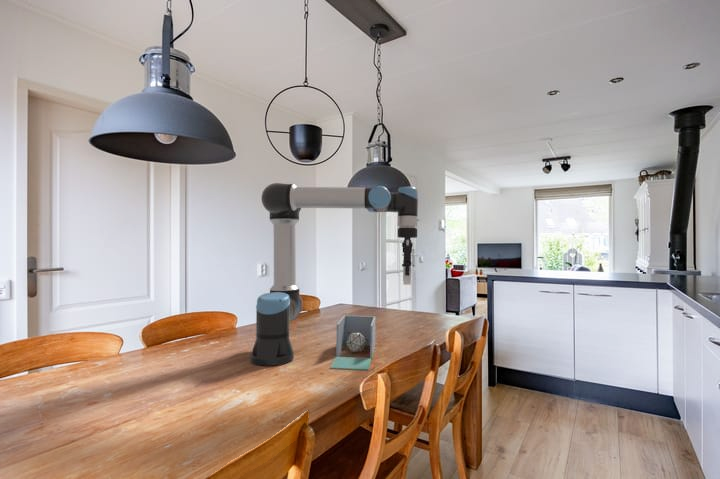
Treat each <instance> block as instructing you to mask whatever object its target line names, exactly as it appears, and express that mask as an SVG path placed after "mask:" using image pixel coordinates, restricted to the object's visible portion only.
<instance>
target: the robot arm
mask: <svg viewBox="0 0 720 479" xmlns="http://www.w3.org/2000/svg"><path fill="white" fill-rule="evenodd" d="M397 190H398V191H397V192H396V191H395V192H390V191H389V189H388V188H387V187H385V186H383V185H382V186H381V185H377V186H374V187H362V186H361V187H358V186H357V187H352V186H351V187H349V186H348V187H345V186H342V187H340V186H339V187H336V186H335V187H334V186H325V187H324V186H297V185H296V184H295V183H279V182H274V183H270V184H268V185H267V186H266V187H265V188H264V189H263V191H262V193H261V204H262V205H263V207H264V208H265V210H266V211H268V212H269V222H271V223H272V225H273V284H272V286H271V287H270V288H269V292H268V293H263V294H261V295H259V296H258V297H257V299H256V305H255V309H256V311H255V312H256V318H255V319H256V321H255V322H256V323H255V324H256V325H255V326H256V328H255V331H256V332H255V333H256V334H255V335H256V336H255V340H254V343H253V347H252V350H251V353H250V362H251V363H252V364H254V365H258V366H267V367H268V366H280V365H284V364H287V363H290V362H292V361H293V360H294V359H295V358H294V355H295V353H294V348H293V345H292V342H291V339H290V322H292V321H294V320H296V319H297V317H299V316H300V314H301V312H302V309H303V299H302V298H301V296H300V286H298V284H296V283H297V282H296V276H297V274H296V270H297V268H296V225H297V223H298V222H299V221H300V212H301V210H302V209H366V210H367V211H368V212H370V213H371V212H372V213H397V227H398V228H397V238H398V239H399V238H400V239H404V240H403V242H401V247H402V253H403V261H402V262H403V263H401V267H402V281H403V285H405V286H406V285H408V286H410V285H411V284H412V252H413V245H414V244H413V242H412V239H416V238H418V229H417V227H418V222H419V221H420V219H419V218H418V207H419V206H418V204H419V198H418V197H419V196H418V194H419V192H418V189H417V188H416V187H415V186H401V187H399V188H398V189H397Z"/></svg>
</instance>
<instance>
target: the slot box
mask: <svg viewBox="0 0 720 479" xmlns="http://www.w3.org/2000/svg"><path fill="white" fill-rule="evenodd" d="M359 331H361V332H360V333H361V334H362V335H363V337H364V338H365V339H366V340H368V341H366V344H365V346H367V347H368V346H369V347H370V349H369V350H370V351H369V354H370V356H369V358H371V359H373V355H374V352H375V348H376V316H373V315H372V316H371V315H365V316H364V315H345V314H344V315H343V316H342V317H341V318H340V320H339V321H338V322H337V323H336V344H335V345H336V347H335V348H336V352H335V353H336V354H335V355H336V356H335V358H336V357H340V354H341V352H342V350H343V349H344V347H345V345H344V344H346V342H347V340H348V337H349V335H350V334H349V332H350V333H359Z"/></svg>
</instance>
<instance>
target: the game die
mask: <svg viewBox="0 0 720 479" xmlns="http://www.w3.org/2000/svg"><path fill="white" fill-rule="evenodd" d="M360 332H361V331H359V333H350V332H349V334H350V335H349V337H348V340H347V342H346V344H344V346H346V347H348V349H349V350H350V351H351V355H353V354H354V353H358V352H361V353H365V352H364V349H365V346H366V345H365V344H366V341H368V340H366V339H365V338H364V337H363V335H362V334H361V333H360Z"/></svg>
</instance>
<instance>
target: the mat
mask: <svg viewBox="0 0 720 479" xmlns="http://www.w3.org/2000/svg"><path fill="white" fill-rule="evenodd" d="M371 361H372V358H370V357H368V358H367V357H349V356H348V357H347V356H338V357H336V356H335V358H334V360H333V362H332V364H331V365H330V367H329V369H330V370H331V369H332V370H333V369H334V370H351V371H370V366H371V364H372V362H371Z"/></svg>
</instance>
